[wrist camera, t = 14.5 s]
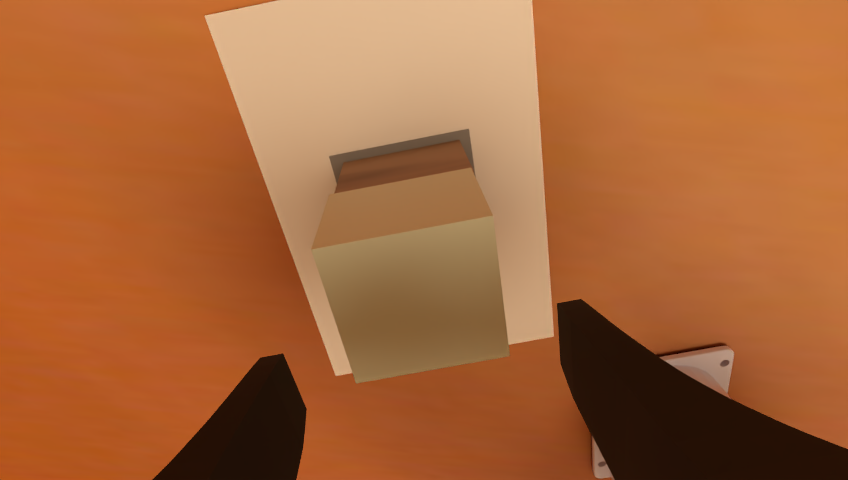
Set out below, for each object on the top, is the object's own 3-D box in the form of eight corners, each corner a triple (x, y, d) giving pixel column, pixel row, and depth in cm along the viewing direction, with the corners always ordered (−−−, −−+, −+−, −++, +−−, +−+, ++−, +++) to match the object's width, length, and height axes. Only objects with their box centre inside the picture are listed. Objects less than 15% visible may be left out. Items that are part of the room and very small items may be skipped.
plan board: (551, 331, 25) (554, 337, 25) (336, 370, 26) (335, 377, 25) (525, -51, 17) (529, -53, 17) (208, 15, 17) (203, 15, 17)
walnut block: (474, 242, 22) (490, 289, 18) (371, 262, 22) (366, 312, 19) (459, 139, 20) (473, 170, 16) (343, 162, 20) (332, 198, 16)
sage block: (487, 286, 18) (509, 356, 15) (363, 309, 18) (355, 383, 15) (470, 167, 16) (493, 215, 12) (329, 194, 16) (311, 249, 13)
